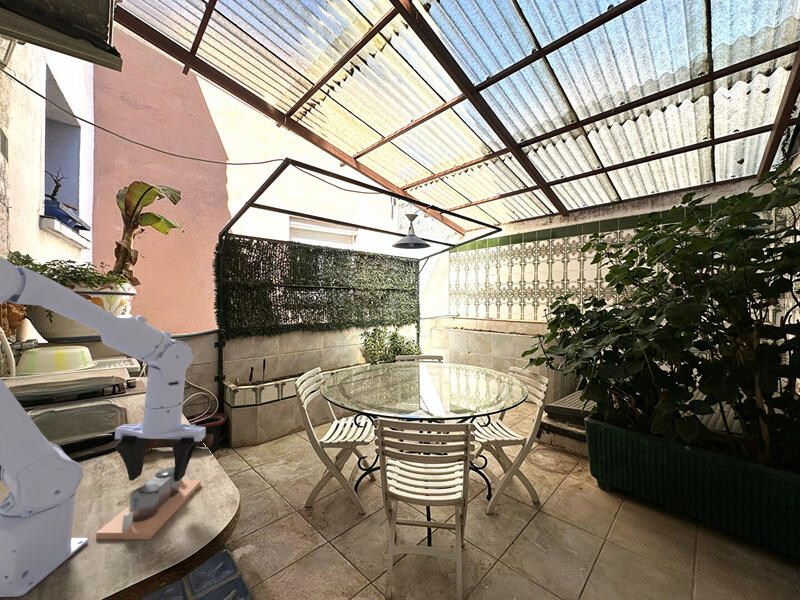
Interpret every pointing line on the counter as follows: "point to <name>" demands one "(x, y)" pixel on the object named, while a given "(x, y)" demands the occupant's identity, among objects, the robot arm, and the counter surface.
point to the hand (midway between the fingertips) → (157, 478)
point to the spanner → (153, 495)
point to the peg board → (146, 529)
